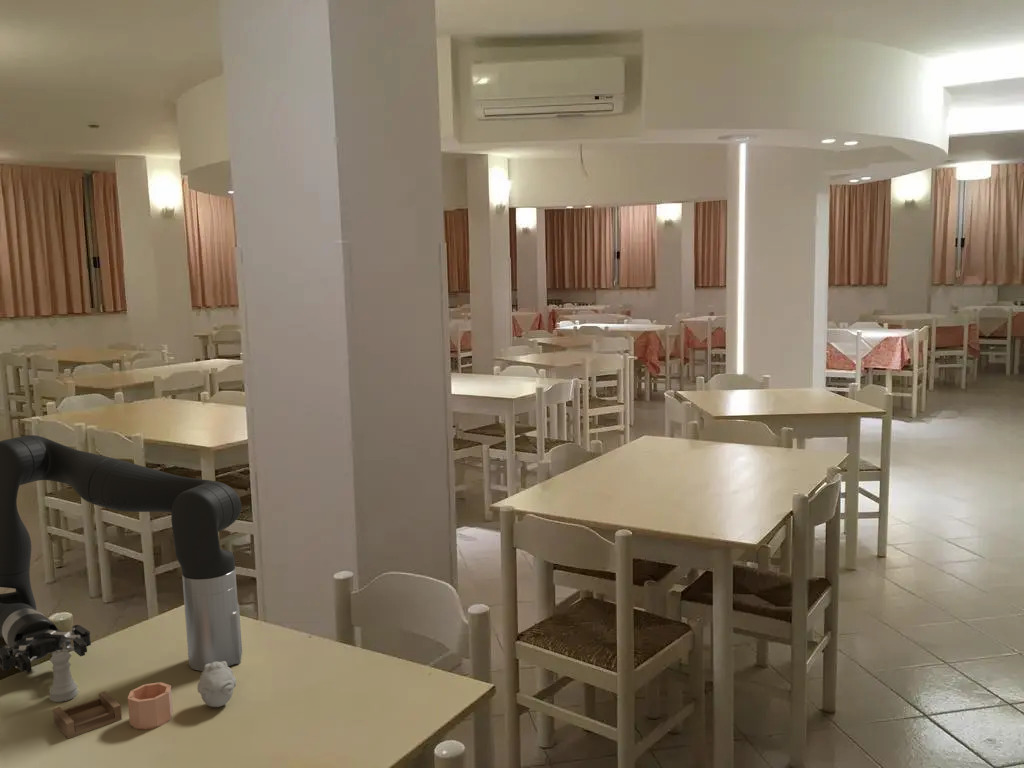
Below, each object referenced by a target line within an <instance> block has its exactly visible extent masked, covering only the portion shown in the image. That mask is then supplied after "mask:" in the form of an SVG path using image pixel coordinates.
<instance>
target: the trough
mask: <svg viewBox="0 0 1024 768" xmlns="http://www.w3.org/2000/svg"><path fill="white" fill-rule="evenodd" d="M52 714H53V723H54V725H56V727H58V729H59V730H60V731H61V732H62V733H63V735H64V736H66V738H67V739H71V738H74V737H77V736H80V735H82V734H85V733H88V732H91V731H93V730H95V729H99V728H102V727H105V726H107V725H110V724H113V723H115V722H118V721H121V720H122V718H123V717H122V706H121V704H120V703H119V702H118V701H117V700H115V698H113V697H112V696H111V695H110V694H109V693H108V692H106V691H102V692H98V698H95V699H92V700H89V701H86V702H83V703H81V704H78V705H74V706H71V707H69V708H66V709H63V708H61V706H57V707H54V708H52Z"/></svg>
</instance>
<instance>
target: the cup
mask: <svg viewBox="0 0 1024 768" xmlns="http://www.w3.org/2000/svg"><path fill="white" fill-rule="evenodd" d="M127 705H128V706H127V708H128V717H129V718H128V719H129V725H130V726H131V727H132V726H133V727H132V728H133V729H136V730H151V729H156V728H159V727H161V726H163V725H165V724H167V723H168V722H170V721H171V719H172V718H173V712H174V706H173V695H172V685H171V684H168V683H164V682H160V681H158V682H154V683H144V684H143V685H140V686H138V687H136V688H134V689H132V690H130V691H129V694H128V696H127Z"/></svg>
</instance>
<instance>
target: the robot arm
mask: <svg viewBox="0 0 1024 768" xmlns="http://www.w3.org/2000/svg"><path fill="white" fill-rule="evenodd" d="M39 481H51V482H55V483H56V482H57V483H61V484H65V485H68V486H71V487H72V489H73V490H74V491H75V493H76V494H77V495H78V496H79V497H80V498H81V499H83V500H84V501H86V502H87V503H90V504H92V505H95V506H99V507H103V508H106V509H110V510H114V511H118V512H133V513H148V512H149V513H150V512H151V513H152V512H153V513H157V512H158V513H159V512H162V513H170V514H171V529H172V536H173V537H172V538H173V543H174V552H175V557H176V560H177V562H178V564H179V565H180V567H181V575H182V577H181V578H182V592H183V601H184V614H185V615H184V616H185V628H186V631H185V632H186V642H187V644H186V645H187V657H188V665H189V667H190V668H191V669H193V670H195V671H200V672H203V671H204V666H205V665H206V664H209V663H210V664H211V663H213V662H216V661H218V662H222V661H226V663H227V666H228V667H231V666H233V665H237V664H241V661H242V660H241V659H242V654H243V653H242V652H243V644H242V642H243V641H242V629H241V614H240V613H241V612H240V603H239V601H238V588H237V587H238V586H237V576H236V575H237V573H236V562H235V555H234V553H233V552H232V551H230V550H227V549H222V548H221V544H220V538H219V532H221V531H224V530H225V529H227V528H229V527H230V526H231V525H233V524H234V523H235V522H236V521H237V520H238V518H239V517H240V515H241V512H242V501H241V498H240V497H239V495H238V493H237V492H236V491H235V490H234V488H232V487H231V486H229V485H228V484H226V483H224V482H221V481H216V480H209V479H201V478H194V477H187V476H180V475H176V474H172V473H168V472H165V471H162V470H158V469H154V468H151V467H147V466H144V465H139V464H137V463H134V462H129V461H127V460H126V461H125V460H122V459H118V458H115V457H110V456H109V457H108V456H103V455H101V454H96V453H92V452H88V451H84V450H83V451H82V450H78V449H75V448H72V447H69V446H67V445H64V444H61V443H60V442H57V441H54V440H51V439H49V438H47V437H43V436H41V435H40V436H39V435H33V434H31V435H22V436H17V437H12V438H8V439H3V440H0V588H4V589H14V590H15V591H11V592H6V593H0V638H3V639H4V642H5V644H6V645H7V646H4V645H0V668H1V669H2V671H8V670H11V668H12V667H15V668H16V669H18V670H19V671H21V672H25V673H26V674H27V673H30V672H32V661H34V660H39V659H42V658H44V657H46V656H47V655H52V653H53V652H56V653H57V650H60V651H61V652H63V649H66V650H68V652H70V651H74V653H76V654H77V655H78V656H79V657H84V656H86V653H88V647H89V646H91V645H92V644H91V643H92V642H91V636H90V635H91V631H89V630H88V629H86V628H85V627H83V626H81V625H80V624H75V625H72V627H71V628H72V629H71V630H69V631H64V630H59V628H58V627H57V626H56V624H55V623H54V622H53V621H52V620H51V619H49V618H48V617H47V616H45V615H44V614H43V613H42V612H41V611H39V610H37V604H36V600H35V596H34V593H33V589H32V584H31V577H30V575H31V574H30V570H31V569H30V567H31V558H32V540H31V537H30V533H29V531H28V529H27V527H26V526H25V523H24V522H23V521H22V519H21V516H20V514H19V511H18V505H17V503H18V502H17V501H18V494H19V489H20V486H22V485H25V484H30V483H33V482H39ZM71 641H73V643H72V644H71Z"/></svg>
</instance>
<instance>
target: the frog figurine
mask: <svg viewBox="0 0 1024 768" xmlns="http://www.w3.org/2000/svg"><path fill="white" fill-rule="evenodd" d="M233 672H234V671H233V670H232V669H231V668H230V666H227V663H226V661H222V662H218V661H216V662H213V663H211V664H210V663H209V664H206V665H205V666H204V671H201V675H200V676H199V682H198V683H197V692H198V693H199V694H200V696H201V699H202V701H203V703H205V705H207V706H209V707H210V708H220V707H223V706H224V705H226V704H227V703H228V702H229V701H230V700H231V698H232V695H233V693H234V689H235V687H236V685H237V680H236V677H235V676H234V673H233Z"/></svg>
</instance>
